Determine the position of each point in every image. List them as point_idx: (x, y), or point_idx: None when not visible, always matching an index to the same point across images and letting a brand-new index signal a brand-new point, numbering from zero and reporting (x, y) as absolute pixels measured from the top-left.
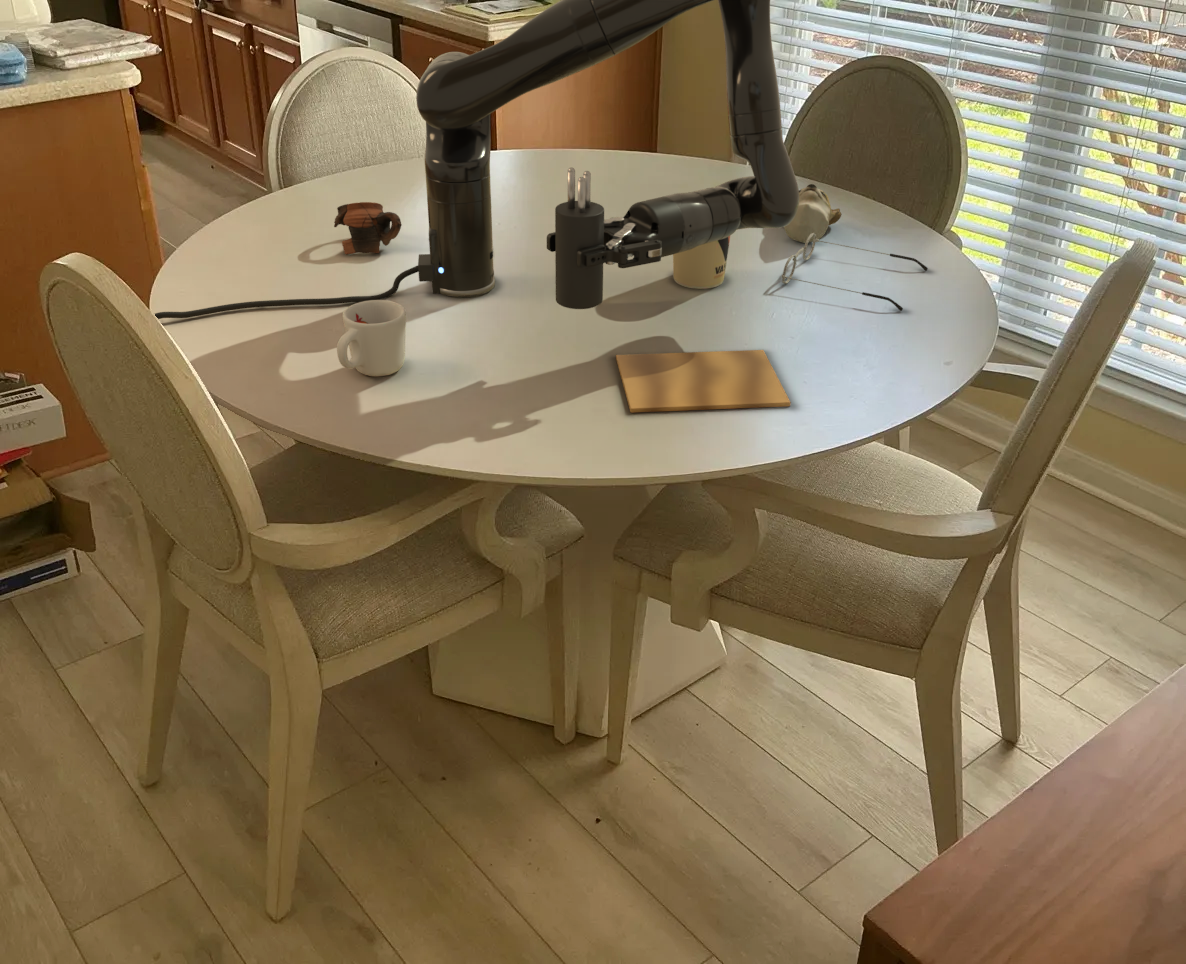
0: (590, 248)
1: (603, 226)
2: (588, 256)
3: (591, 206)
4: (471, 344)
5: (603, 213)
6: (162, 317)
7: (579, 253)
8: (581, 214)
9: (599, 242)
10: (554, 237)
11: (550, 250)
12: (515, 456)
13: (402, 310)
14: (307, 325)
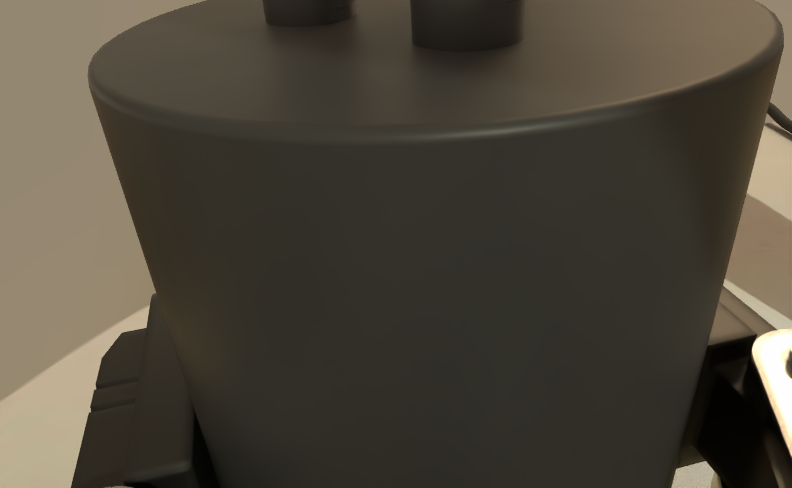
0: (170, 351)
1: (232, 360)
2: (118, 350)
3: (458, 56)
4: (695, 467)
5: (168, 159)
6: None
7: None
8: (220, 13)
9: (206, 430)
10: None
11: None
12: (38, 424)
13: None
14: (785, 221)
